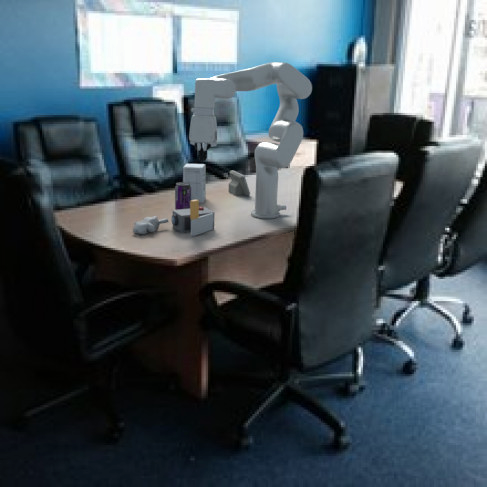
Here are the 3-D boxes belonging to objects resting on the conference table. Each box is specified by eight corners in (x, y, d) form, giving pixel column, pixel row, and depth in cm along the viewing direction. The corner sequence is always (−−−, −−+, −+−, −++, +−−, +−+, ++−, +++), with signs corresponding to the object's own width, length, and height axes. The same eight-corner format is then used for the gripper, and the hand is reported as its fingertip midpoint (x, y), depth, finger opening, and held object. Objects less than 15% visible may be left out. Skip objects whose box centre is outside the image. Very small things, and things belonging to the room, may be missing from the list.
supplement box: (206, 198, 277) (206, 164, 272) (202, 203, 268) (203, 167, 263) (186, 197, 278) (186, 163, 273) (182, 202, 269) (182, 166, 264)
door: (212, 228, 228) (212, 195, 224) (215, 229, 227) (215, 195, 223) (190, 235, 218) (190, 200, 214) (193, 236, 217) (193, 201, 213)
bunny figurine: (126, 223, 219) (151, 210, 231) (128, 235, 221) (152, 222, 233) (145, 227, 214) (170, 214, 226) (147, 240, 217) (171, 226, 228)
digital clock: (250, 196, 284) (251, 175, 280) (232, 197, 282) (233, 175, 279) (243, 189, 299) (244, 169, 296) (226, 189, 297) (227, 169, 294)
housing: (204, 223, 236) (204, 205, 234) (214, 229, 228) (214, 210, 226) (169, 227, 229) (169, 208, 227) (178, 233, 221) (178, 214, 219)
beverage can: (188, 212, 251) (188, 185, 247) (173, 211, 252) (172, 184, 249) (193, 209, 258) (193, 182, 254) (178, 207, 259) (177, 181, 255)
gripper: (182, 111, 217) (181, 160, 222) (219, 114, 213) (217, 163, 218) (189, 110, 224) (188, 157, 229) (226, 113, 219) (224, 161, 225)
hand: (202, 160), depth 223 cm, fingers closed
